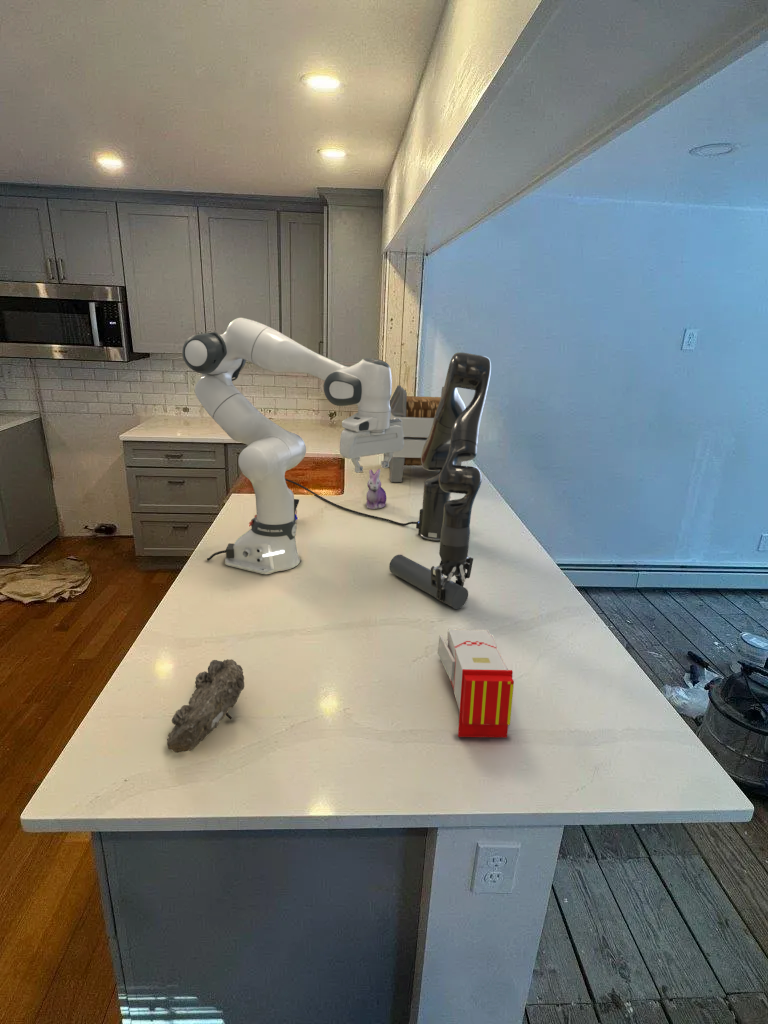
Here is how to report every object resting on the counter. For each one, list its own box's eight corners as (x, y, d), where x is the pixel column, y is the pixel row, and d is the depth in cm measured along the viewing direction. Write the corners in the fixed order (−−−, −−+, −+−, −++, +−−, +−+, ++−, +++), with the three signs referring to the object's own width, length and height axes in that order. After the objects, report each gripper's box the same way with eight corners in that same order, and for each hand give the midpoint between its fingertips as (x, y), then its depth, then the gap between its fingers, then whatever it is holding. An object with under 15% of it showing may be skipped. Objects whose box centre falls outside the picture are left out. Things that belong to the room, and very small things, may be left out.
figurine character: (295, 534, 198) (300, 515, 212) (294, 515, 195) (299, 497, 208) (275, 534, 198) (282, 514, 212) (275, 514, 195) (281, 496, 208)
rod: (467, 605, 153) (469, 585, 151) (451, 612, 150) (453, 591, 148) (404, 570, 172) (405, 552, 170) (388, 576, 168) (389, 557, 166)
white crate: (382, 463, 289) (386, 382, 275) (445, 464, 293) (451, 384, 279) (390, 482, 257) (394, 392, 243) (460, 483, 261) (468, 394, 247)
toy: (488, 613, 130) (523, 677, 101) (484, 667, 133) (517, 744, 104) (435, 612, 130) (455, 676, 101) (432, 666, 133) (451, 743, 103)
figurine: (370, 511, 220) (372, 474, 215) (359, 503, 229) (360, 467, 224) (392, 508, 224) (394, 471, 219) (380, 500, 233) (381, 465, 228)
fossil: (192, 660, 117) (244, 628, 112) (224, 691, 120) (276, 661, 115) (142, 746, 98) (202, 712, 93) (182, 779, 101) (242, 748, 96)
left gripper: (395, 415, 162) (392, 462, 167) (336, 421, 150) (335, 472, 154) (410, 419, 158) (407, 467, 162) (350, 426, 145) (349, 477, 150)
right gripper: (463, 529, 155) (457, 584, 161) (424, 541, 146) (420, 598, 152) (483, 538, 150) (477, 595, 155) (445, 550, 141) (440, 610, 147)
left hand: (372, 469), depth 158 cm, fingers open, 8 cm apart
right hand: (449, 596), depth 154 cm, fingers closed on rod, 6 cm apart
